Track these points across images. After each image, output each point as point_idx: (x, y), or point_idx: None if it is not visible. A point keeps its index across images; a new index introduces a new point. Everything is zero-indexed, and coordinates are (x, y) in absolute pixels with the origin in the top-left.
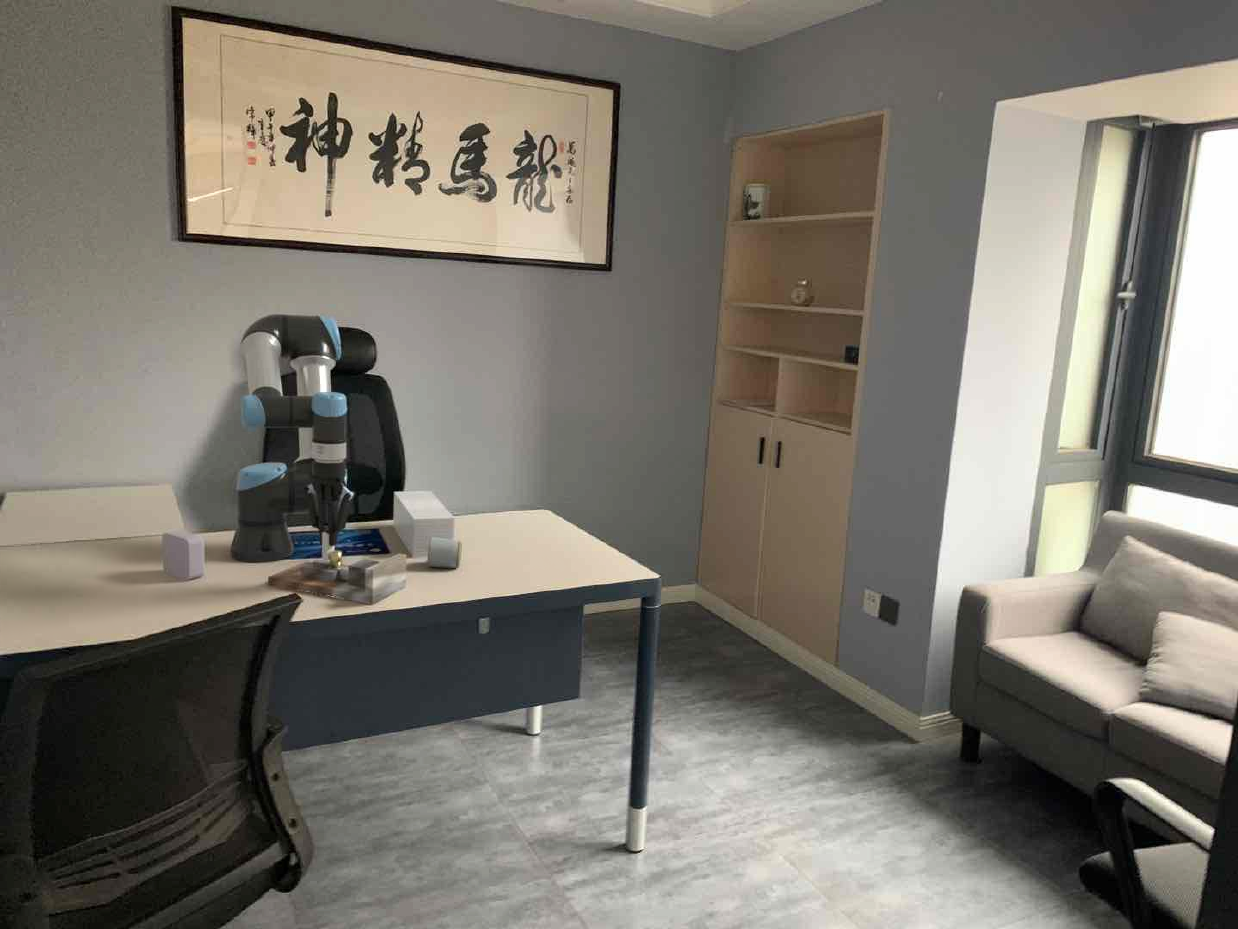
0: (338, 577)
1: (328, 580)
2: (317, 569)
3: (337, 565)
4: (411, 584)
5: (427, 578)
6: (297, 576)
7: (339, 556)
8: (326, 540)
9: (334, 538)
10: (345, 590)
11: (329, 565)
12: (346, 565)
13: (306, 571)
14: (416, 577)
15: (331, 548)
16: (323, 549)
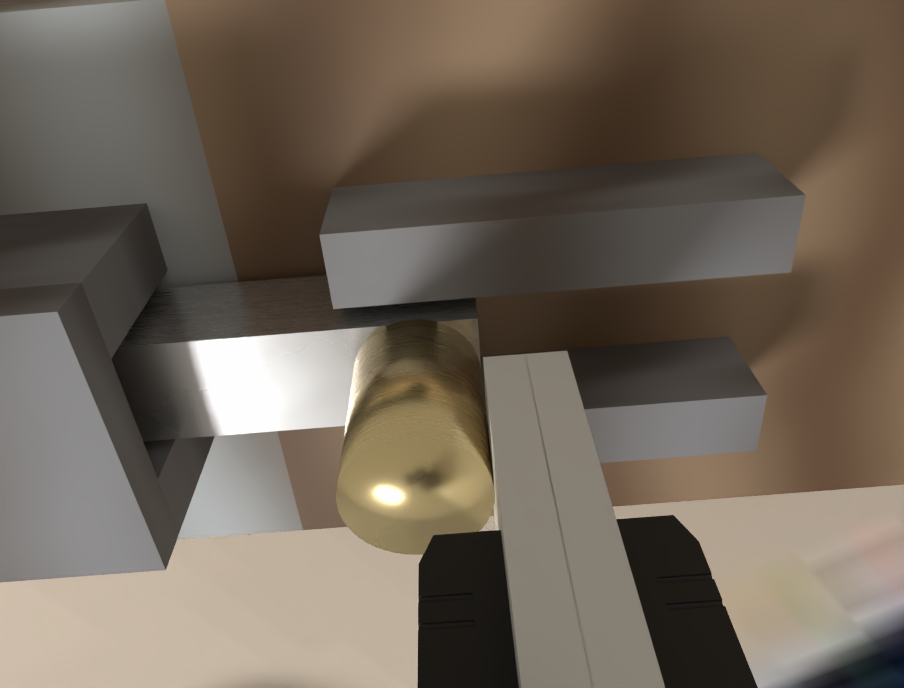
0: None
1: (394, 185)
2: (554, 215)
3: (359, 361)
4: None
5: (38, 667)
6: (785, 128)
7: (343, 454)
8: (532, 573)
9: (422, 667)
10: (3, 33)
11: None
12: None
13: (702, 185)
14: (105, 652)
15: (498, 525)
16: (569, 444)
